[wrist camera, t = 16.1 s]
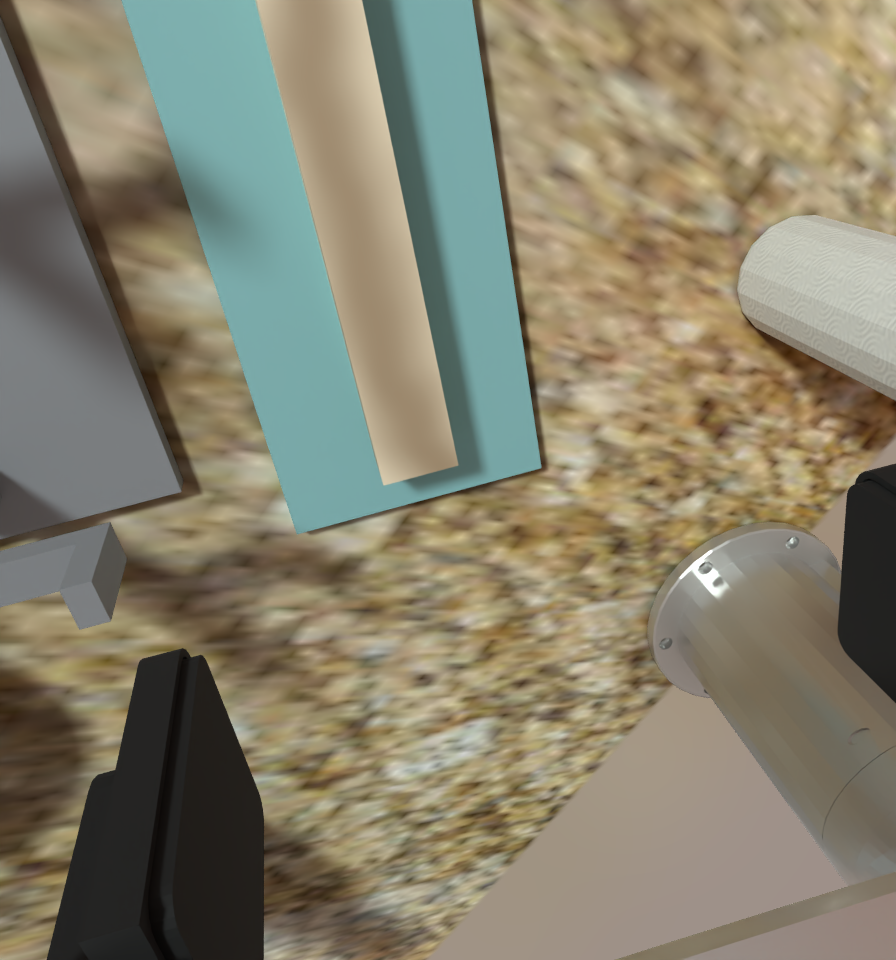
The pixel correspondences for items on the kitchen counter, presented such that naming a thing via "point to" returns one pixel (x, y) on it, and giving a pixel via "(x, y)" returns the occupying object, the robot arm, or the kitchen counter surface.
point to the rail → (361, 226)
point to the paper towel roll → (827, 295)
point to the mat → (297, 256)
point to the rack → (63, 382)
